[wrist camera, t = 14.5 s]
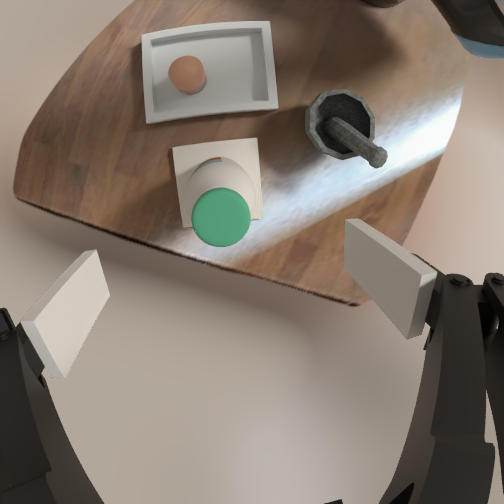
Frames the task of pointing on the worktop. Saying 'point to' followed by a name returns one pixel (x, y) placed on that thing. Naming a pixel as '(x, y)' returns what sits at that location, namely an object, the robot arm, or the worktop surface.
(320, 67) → the worktop surface
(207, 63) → the tray
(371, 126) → the mortar and pestle
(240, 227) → the milk bottle
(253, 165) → the pad
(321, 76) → the worktop surface
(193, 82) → the pinkish brown rounded cylinder
